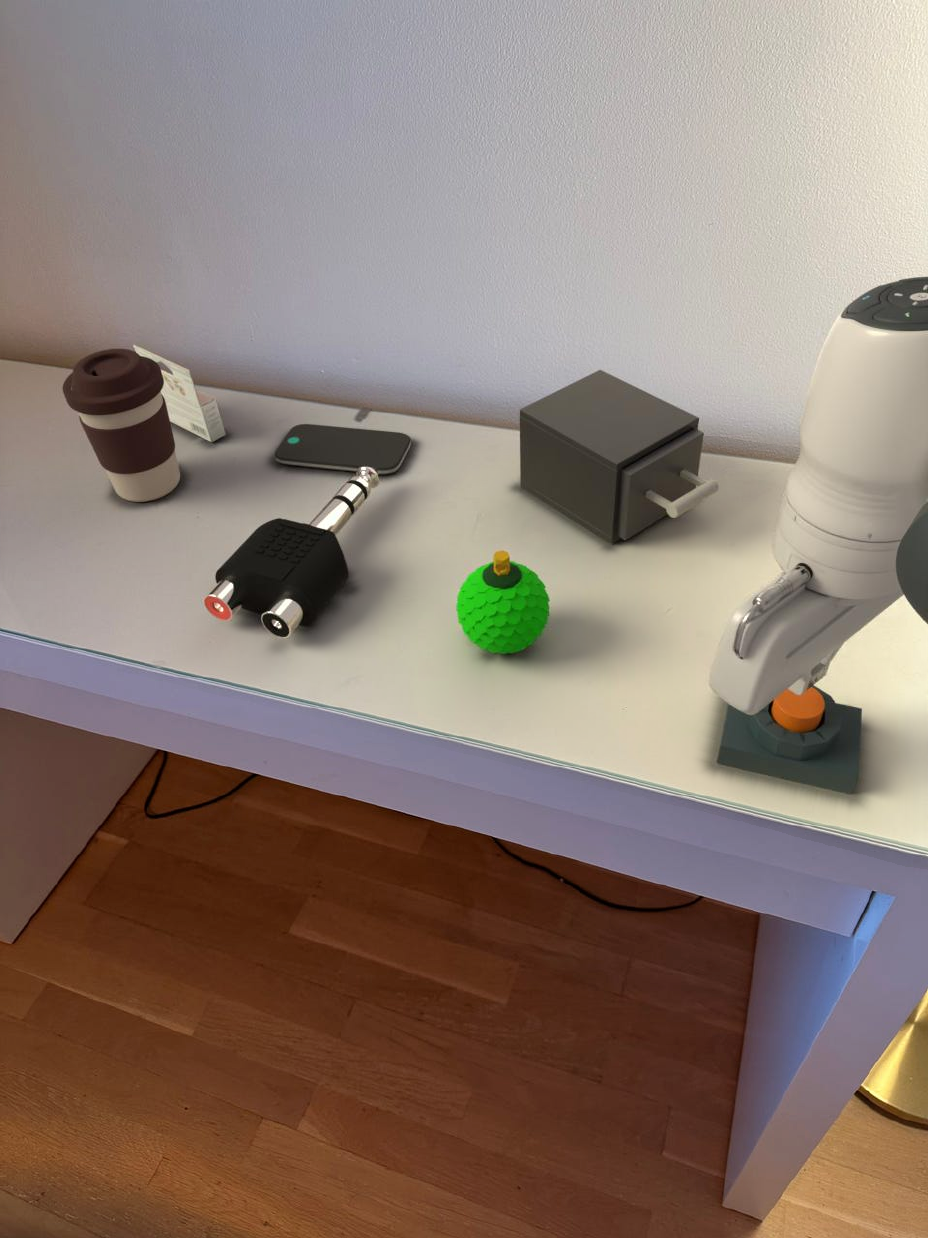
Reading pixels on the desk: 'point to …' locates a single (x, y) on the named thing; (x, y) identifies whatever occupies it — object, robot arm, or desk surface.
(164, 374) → the ink box
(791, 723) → the button
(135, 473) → the coffee cup
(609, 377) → the small drawer cabinet
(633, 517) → the drawer
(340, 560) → the audio adapter
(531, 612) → the ornament
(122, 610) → the desk surface
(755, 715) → the control block
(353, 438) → the smartphone
